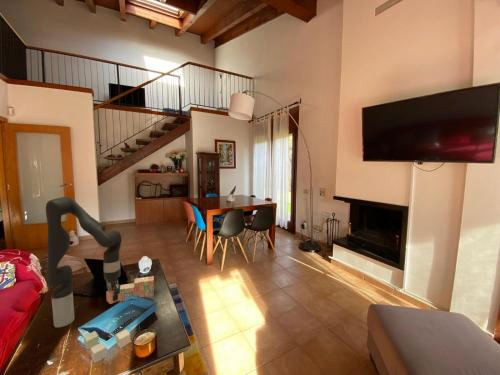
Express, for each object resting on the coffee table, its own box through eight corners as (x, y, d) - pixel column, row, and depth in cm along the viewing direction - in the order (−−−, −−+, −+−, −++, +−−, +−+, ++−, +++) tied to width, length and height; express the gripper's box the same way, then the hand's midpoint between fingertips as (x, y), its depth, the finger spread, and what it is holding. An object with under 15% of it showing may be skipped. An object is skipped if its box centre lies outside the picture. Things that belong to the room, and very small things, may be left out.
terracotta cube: (106, 300, 119) (106, 291, 119) (116, 296, 123) (116, 287, 123) (110, 304, 116) (109, 295, 116) (120, 299, 120) (120, 291, 119)
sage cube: (84, 345, 113) (83, 336, 112) (95, 339, 117) (95, 330, 116) (87, 350, 110) (86, 341, 109) (99, 344, 114) (98, 335, 113)
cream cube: (116, 343, 114) (115, 334, 114) (126, 337, 118) (126, 329, 118) (120, 348, 111) (119, 339, 111) (130, 342, 115) (130, 333, 115)
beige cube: (91, 357, 106) (90, 348, 105) (103, 350, 110) (102, 341, 109) (94, 363, 103) (94, 353, 102) (106, 356, 107) (106, 347, 106)
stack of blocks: (119, 302, 147) (118, 285, 146) (121, 297, 153) (120, 280, 152) (154, 296, 155) (153, 280, 153) (154, 291, 161) (154, 275, 159)
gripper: (99, 266, 119) (100, 296, 121) (109, 275, 110) (110, 307, 112) (114, 262, 125) (115, 290, 127) (125, 270, 116) (126, 300, 118)
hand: (113, 298), depth 119 cm, fingers closed on terracotta cube, 5 cm apart
